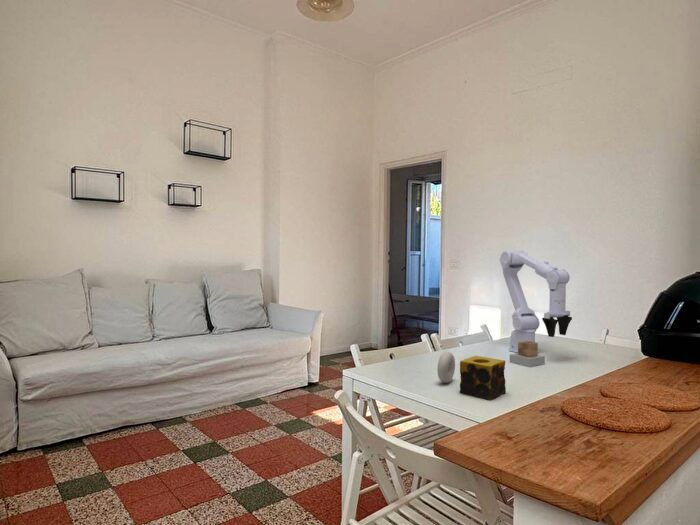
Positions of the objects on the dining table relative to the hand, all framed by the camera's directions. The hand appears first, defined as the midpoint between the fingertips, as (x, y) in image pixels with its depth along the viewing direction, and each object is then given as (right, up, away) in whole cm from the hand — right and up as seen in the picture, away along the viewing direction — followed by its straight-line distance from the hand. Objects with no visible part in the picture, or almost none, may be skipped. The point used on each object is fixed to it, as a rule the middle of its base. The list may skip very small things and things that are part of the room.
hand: (556, 335), depth 178 cm
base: (-13, -10, -4) cm, 17 cm away
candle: (-41, -11, -41) cm, 59 cm away
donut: (-49, -11, -30) cm, 59 cm away
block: (-13, -7, -4) cm, 15 cm away
